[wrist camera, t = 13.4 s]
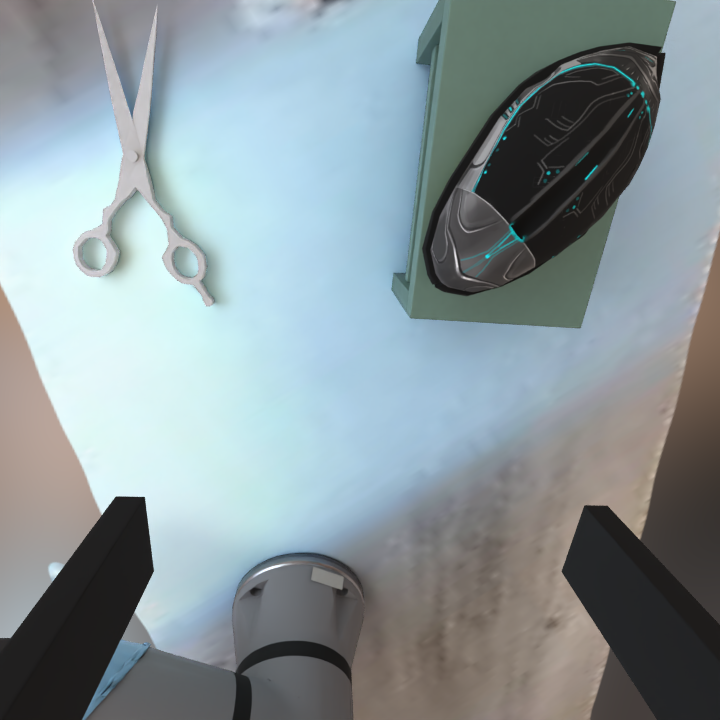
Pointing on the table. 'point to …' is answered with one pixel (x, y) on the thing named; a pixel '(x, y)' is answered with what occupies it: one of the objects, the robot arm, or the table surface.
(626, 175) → the computer mouse
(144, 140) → the scissors
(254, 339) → the table surface
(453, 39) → the desk shelf
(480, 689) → the table surface
